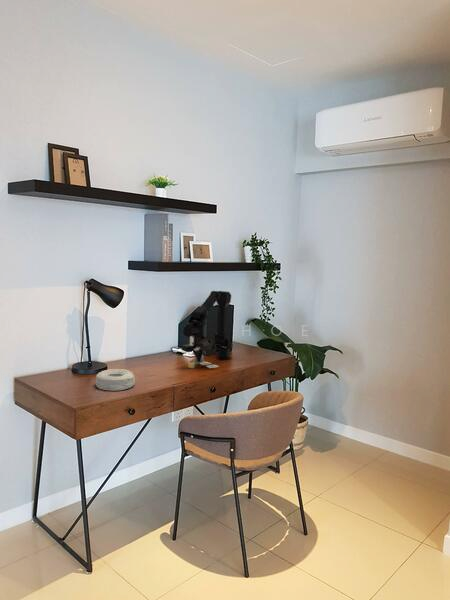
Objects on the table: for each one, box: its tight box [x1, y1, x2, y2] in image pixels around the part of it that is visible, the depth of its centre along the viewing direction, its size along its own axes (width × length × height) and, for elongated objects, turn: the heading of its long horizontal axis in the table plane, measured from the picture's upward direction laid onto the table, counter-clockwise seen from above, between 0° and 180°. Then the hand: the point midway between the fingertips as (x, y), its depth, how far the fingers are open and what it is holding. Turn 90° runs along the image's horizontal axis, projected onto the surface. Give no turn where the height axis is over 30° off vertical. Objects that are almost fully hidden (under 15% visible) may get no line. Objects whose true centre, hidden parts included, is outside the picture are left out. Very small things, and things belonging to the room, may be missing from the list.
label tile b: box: [205, 364, 220, 369], centre depth 261 cm, size 6×4×1 cm, turn 126°
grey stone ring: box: [95, 368, 136, 392], centre depth 219 cm, size 18×18×6 cm
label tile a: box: [198, 361, 213, 366], centre depth 267 cm, size 6×4×1 cm, turn 126°
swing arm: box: [187, 355, 205, 369], centre depth 264 cm, size 18×4×4 cm, turn 165°
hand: (198, 362), depth 260 cm, fingers closed
